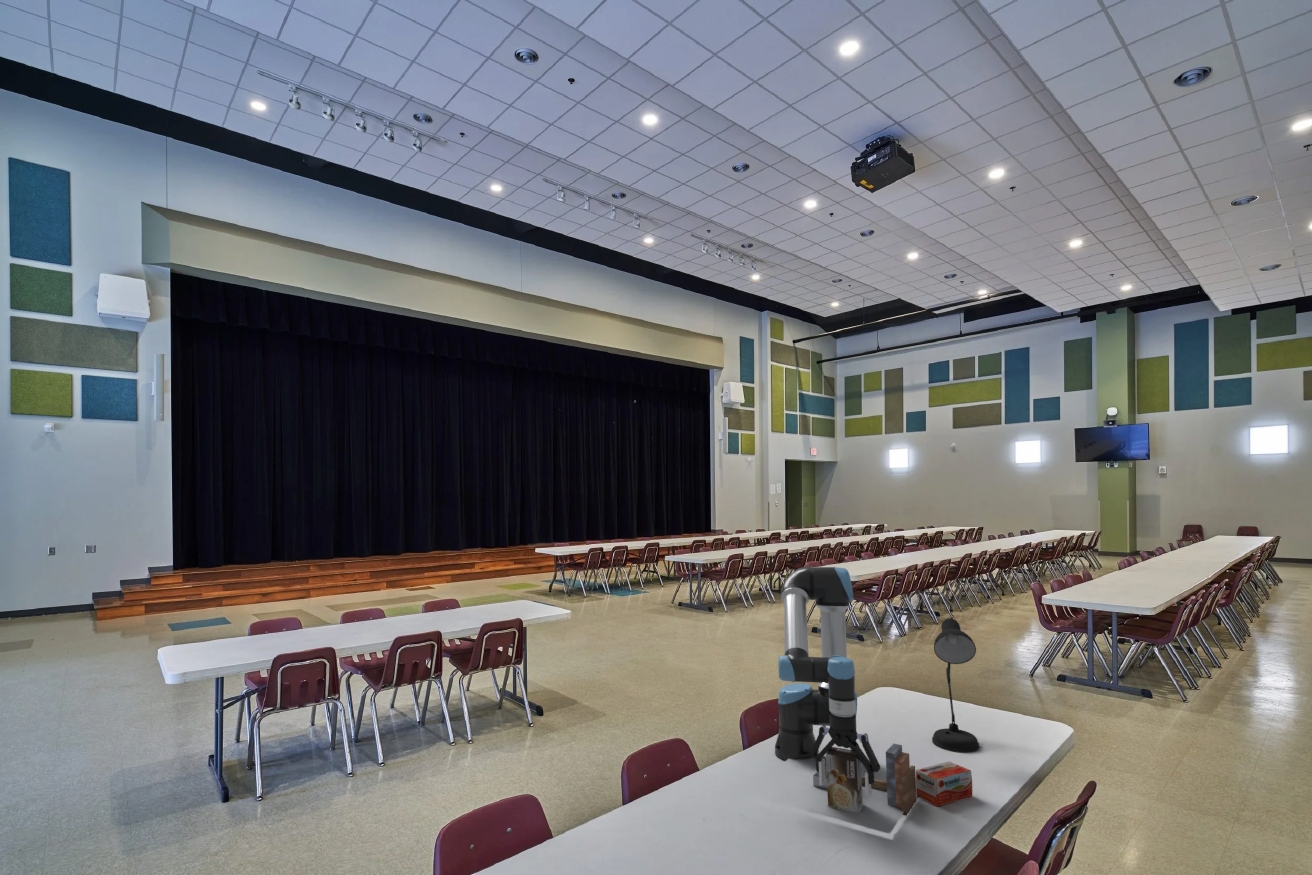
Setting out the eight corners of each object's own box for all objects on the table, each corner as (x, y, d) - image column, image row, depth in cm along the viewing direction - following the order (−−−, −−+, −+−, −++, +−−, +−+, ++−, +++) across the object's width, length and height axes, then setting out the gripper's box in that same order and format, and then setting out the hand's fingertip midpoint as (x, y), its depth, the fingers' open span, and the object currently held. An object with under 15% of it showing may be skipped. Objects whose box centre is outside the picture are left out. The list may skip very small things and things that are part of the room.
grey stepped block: (813, 785, 205) (812, 760, 205) (822, 776, 211) (822, 751, 212) (837, 791, 200) (836, 765, 201) (846, 782, 207) (845, 757, 207)
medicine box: (950, 786, 206) (949, 759, 207) (973, 797, 199) (972, 769, 200) (915, 796, 200) (914, 769, 200) (937, 808, 192) (936, 779, 193)
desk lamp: (960, 763, 223) (954, 627, 227) (902, 738, 247) (897, 615, 251) (1010, 751, 234) (1003, 621, 237) (950, 728, 257) (944, 610, 261)
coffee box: (863, 808, 192) (862, 750, 194) (859, 817, 187) (857, 758, 188) (832, 801, 197) (830, 745, 198) (826, 810, 191) (825, 753, 192)
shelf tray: (809, 790, 204) (807, 736, 206) (822, 777, 213) (820, 726, 215) (906, 815, 188) (904, 757, 189) (916, 800, 197) (914, 745, 198)
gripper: (797, 709, 198) (799, 783, 196) (881, 724, 184) (884, 804, 182) (807, 702, 204) (808, 774, 202) (889, 717, 190) (892, 795, 188)
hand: (844, 789), depth 192 cm, fingers open, 13 cm apart
